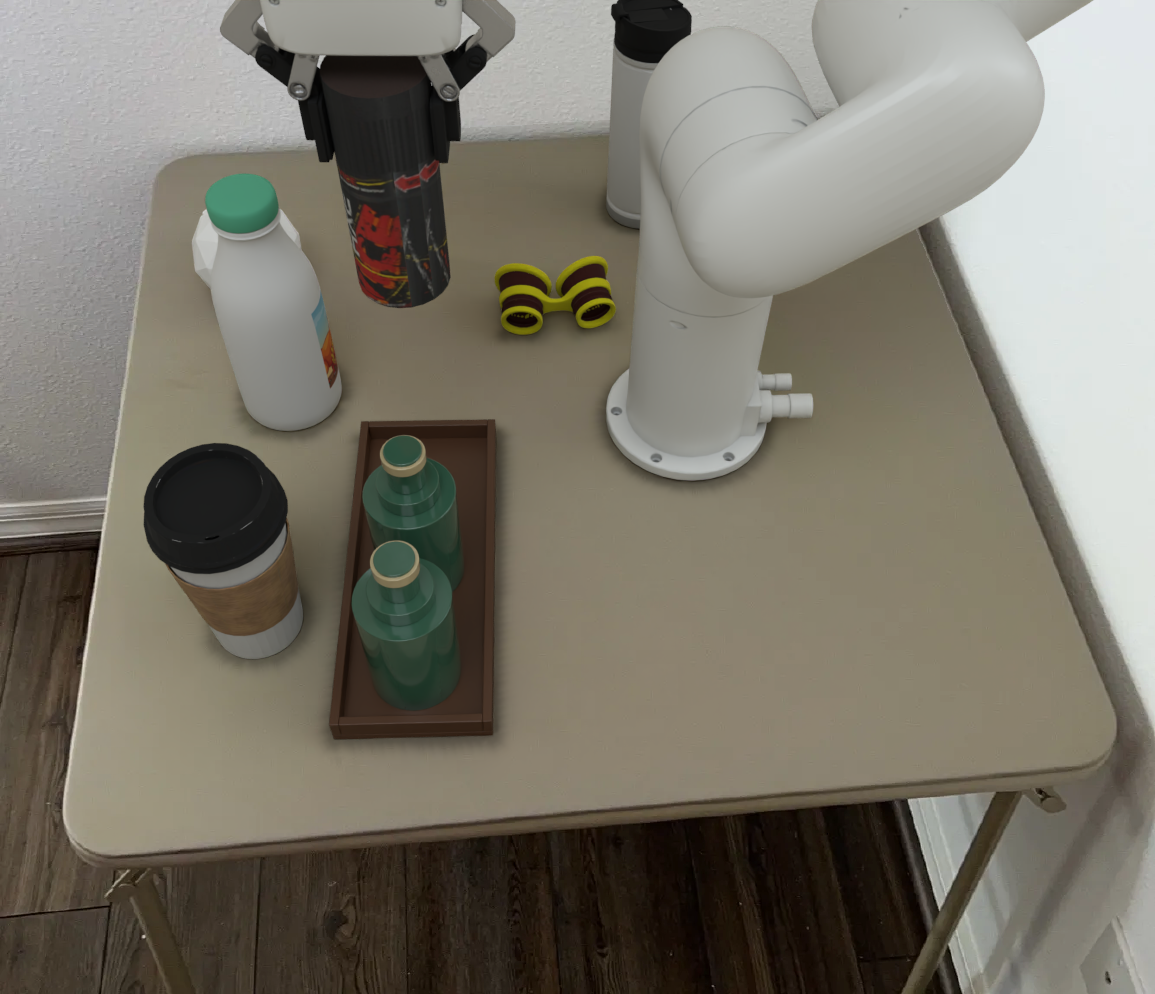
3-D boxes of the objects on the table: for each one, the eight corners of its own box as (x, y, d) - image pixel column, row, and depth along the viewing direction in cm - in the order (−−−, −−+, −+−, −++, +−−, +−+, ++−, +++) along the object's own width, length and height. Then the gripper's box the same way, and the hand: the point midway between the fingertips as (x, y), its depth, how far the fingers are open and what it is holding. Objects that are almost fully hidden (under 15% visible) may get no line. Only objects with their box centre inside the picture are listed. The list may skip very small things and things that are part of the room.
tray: (496, 436, 88) (495, 418, 86) (493, 735, 73) (491, 721, 71) (364, 438, 88) (360, 420, 86) (333, 739, 72) (328, 725, 71)
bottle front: (462, 629, 77) (448, 514, 66) (460, 709, 73) (444, 602, 63) (374, 631, 77) (345, 516, 66) (367, 712, 73) (336, 604, 62)
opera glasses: (501, 345, 95) (501, 310, 91) (494, 293, 97) (493, 257, 93) (615, 333, 96) (620, 298, 92) (605, 283, 98) (609, 246, 94)
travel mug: (593, 194, 106) (600, -11, 90) (659, 182, 107) (678, -22, 91) (614, 236, 102) (626, 31, 86) (683, 223, 104) (706, 18, 88)
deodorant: (469, 277, 73) (452, 68, 61) (397, 322, 71) (364, 112, 59) (411, 234, 76) (384, 24, 64) (340, 275, 73) (297, 64, 61)
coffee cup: (203, 690, 74) (135, 563, 62) (192, 585, 79) (127, 449, 67) (330, 659, 76) (288, 530, 64) (312, 558, 81) (270, 421, 69)
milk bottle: (324, 441, 87) (274, 238, 71) (230, 425, 88) (159, 221, 72) (356, 370, 92) (315, 164, 76) (266, 355, 93) (206, 149, 77)
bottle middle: (465, 533, 82) (452, 412, 71) (463, 604, 78) (449, 487, 67) (382, 534, 81) (356, 413, 71) (376, 606, 78) (348, 489, 67)
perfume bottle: (338, 285, 95) (286, 221, 102) (282, 206, 88) (230, 143, 95) (253, 346, 94) (207, 276, 102) (190, 271, 87) (144, 202, 94)
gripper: (530, -222, 53) (536, 111, 68) (163, -227, 53) (248, 109, 68) (527, -151, 49) (534, 190, 63) (126, -155, 49) (225, 188, 63)
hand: (386, 145), depth 65 cm, fingers closed on deodorant, 6 cm apart
